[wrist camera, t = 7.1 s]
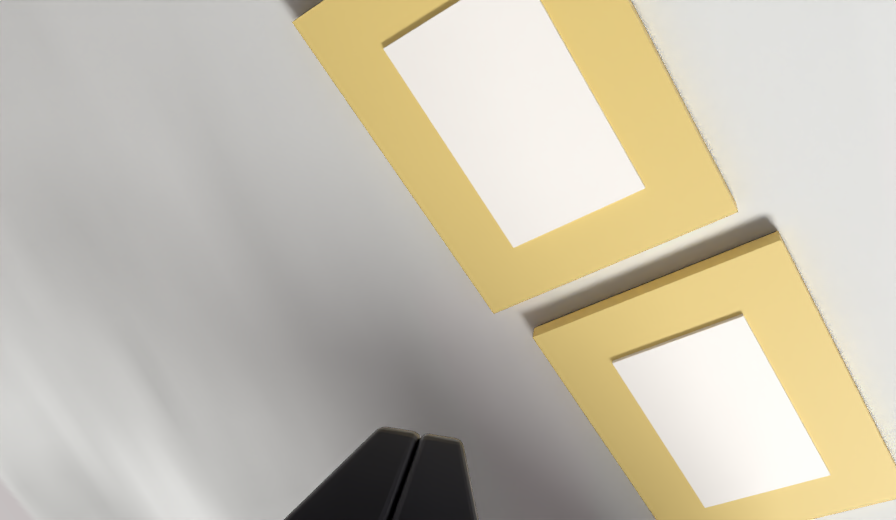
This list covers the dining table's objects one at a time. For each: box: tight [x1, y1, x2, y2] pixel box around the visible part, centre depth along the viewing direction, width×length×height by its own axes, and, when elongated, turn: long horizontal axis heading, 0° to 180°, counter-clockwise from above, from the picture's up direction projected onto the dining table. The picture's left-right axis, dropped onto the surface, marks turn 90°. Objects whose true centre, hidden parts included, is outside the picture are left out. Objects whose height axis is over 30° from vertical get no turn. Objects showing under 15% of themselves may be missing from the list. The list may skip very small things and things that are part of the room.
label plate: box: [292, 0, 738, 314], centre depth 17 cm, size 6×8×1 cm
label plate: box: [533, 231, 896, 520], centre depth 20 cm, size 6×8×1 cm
